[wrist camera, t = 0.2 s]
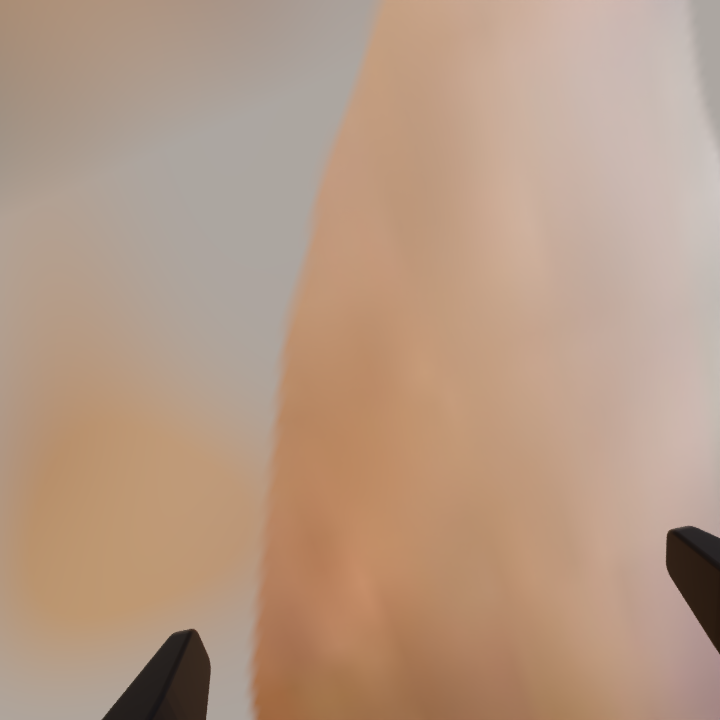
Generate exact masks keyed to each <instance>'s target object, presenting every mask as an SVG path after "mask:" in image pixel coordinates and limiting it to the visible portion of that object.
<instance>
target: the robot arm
mask: <svg viewBox="0 0 720 720" xmlns="http://www.w3.org/2000/svg"><path fill="white" fill-rule="evenodd" d="M666 566H667V570H668V573H669V575H670V577H671V578H672V580H673V582H674V583H675V585H676V586H677V588H678V589H679V591H680V593H681V594H682V596H683V597H684V599H685V601H686V602H687V604H688V605H689V607H690V608H691V610H692V612H693V613H694V615H695V616H696V618H697V620H698V621H699V623H700V624H701V626H702V627H703V629H704V631H705V632H706V634H707V635H708V637H709V639H710V640H711V642H712V643H713V645H714V646H715V648H716V649H717V651H718V652H719V654H720V538H718V537H716V536H714V535H712V534H710V533H707V532H705V531H703V530H701V529H699V528H696V527H693V526H685V527H680V528H675V529H671V530H669V531H668V533H667V543H666ZM210 672H211V666H210V660H209V657H208V654H207V652H206V650H205V647H204V645H203V643H202V641H201V638H200V636H199V634H198V632H197V631H196V630H195V629H189V630H184V631H179V632H175V633H173V634H172V635H171V636H170V637H169V638H168V639H167V640H166V642H165V643H164V644H163V645H162V646H161V648H160V649H159V650H158V651H157V653H156V654H155V655H154V657H153V658H152V659H151V660H150V661H149V662H148V664H147V665H146V666H145V667H144V669H143V670H142V671H141V672H140V674H139V675H138V676H137V677H136V678H135V680H134V681H133V682H132V683H131V685H130V686H129V687H128V688H127V690H126V691H125V692H124V693H123V694H122V696H121V697H120V698H119V699H118V700H117V702H116V703H115V704H114V705H113V707H112V708H111V709H110V710H109V711H108V713H107V714H106V715H105V717H104V718H103V719H102V720H206V714H207V704H208V694H209V684H210Z"/></svg>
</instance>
